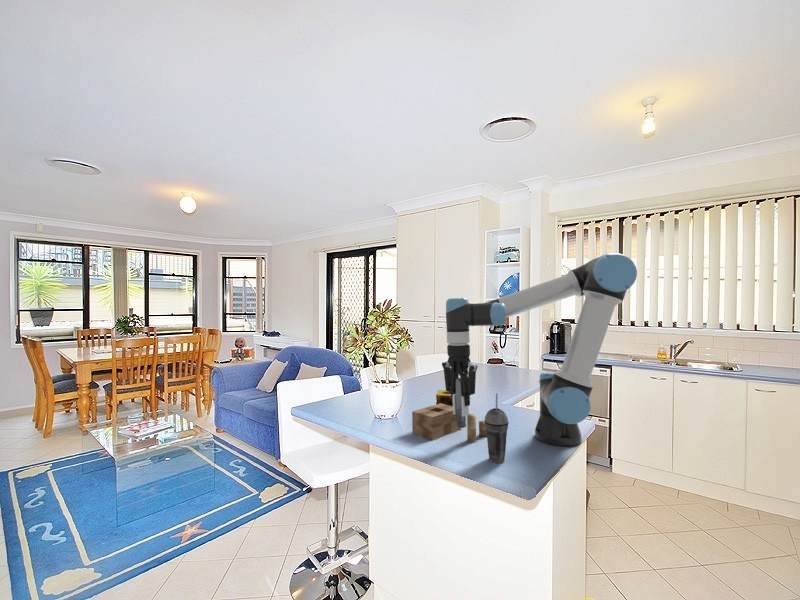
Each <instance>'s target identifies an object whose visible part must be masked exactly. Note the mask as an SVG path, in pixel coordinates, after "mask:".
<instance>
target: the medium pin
mask: <svg viewBox="0 0 800 600" xmlns="http://www.w3.org/2000/svg"><path fill="white" fill-rule="evenodd" d="M466 421H467V422H466V431H467V432H466V433H467V434H466V435H467V436H466V438H467V442H469V443H476V442H477V415H476V413H469V415H466Z"/></svg>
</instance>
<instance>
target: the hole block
mask: <svg viewBox="0 0 800 600" xmlns="http://www.w3.org/2000/svg"><path fill="white" fill-rule="evenodd" d="M411 413H412V414H411V415H412V417H411V419H412V425H411V426H412V432H411V433H412V434H414V435H416V436H420V437H423V438H426V439H429V440H431V441H434V440H438V439H439V438H442V437H445V436H447V435H450V434H452V433H456V432H458V431H460V430H462V428H458V427H457V417H456V414H453V406H450V405H445V404H441V403H440V404H437V405H436V404H434V405H429V406H427V407H423V408H419V409H416V410H413V411H412V412H411Z"/></svg>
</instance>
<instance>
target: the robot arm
mask: <svg viewBox="0 0 800 600" xmlns="http://www.w3.org/2000/svg"><path fill="white" fill-rule="evenodd" d="M637 275H638V270H637V267H636V264H635V263H634V261H633V260H632V258H630V257H629V256H627V255H625V254H622V253H617V252H613V253H612V252H611V253H606V254H602V255H601V256H598V257H597V258H593V259H591V260H590V261H588V262H586V263H584V264H582V265H580V266H578V267H576V268H573V269H570V270H568V272H567V273H566V274H565V275H561V276H559V277H557V278H553V279H551V280H548V281H547V280H546V281H545V282H542V283H538V284H535V285H533V286H530V287H527V288H525V289H521V290H518V291H516V292H515V291H514V292H513V293H510V294H507V295H504V296H501V297H497V298H496V299H493V300H489V301H487V302H483V303H481V302H480V303H469V302H470V301H469V299H468V298H467V297H457V298H455V297H453V298H452V297H451V298H448V299H447V300H446V301H445V320H446V321H445V325H446V343H447V345H446V348H447V349H446V353H447V356H448V359H447V361H443V362H441V365H442V369H443V375H444V384H445V385H444V386H445V390H446V391H448V392H450V393H451V402H452V403H453V414H456V390H455V378H461V383H462V390H463V395H462V396H461V402H462V416H466V417H467V415H469V414H470V413H469V411H470V410H469V406H471V395H474V394H476V378H477V376H476V375H477V369H478V368H479V367H478V364H473V363H472V362H471V359H470V355H471V345H470V344H469V343H470V327H475V326H476V327H477V326H478V327H480V326H481V327H486V326H487V327H488V326H494V327H498V326H504V325H505V324H506V321H507V319H506V318H510V317H513V316H515V315H518V314H522V313H525V312H528V311H530V310H534V309H536V308H540V307H542V306H545V305H549V304H552V303H554V302H555V303H556V302H557V301H561V300H564V299H567V298H570V297H573V296H577V297H579V298H580V297H582V296H584V297H585V299H584V302H583V305H582V307H581V309H580V314H579V316H578V318H577V322H576V325H575V328H574V331H573V334H572V337H571V339H570V342H569V346H568V349H567V351H566V354H565V357H564V360H563V363H562V366H561V369H559V370H556V371H555V372H541V373H540V375H539V380H538V383H539V416H538V420H537V423H536V426H535V429H534V437H535V438H536V440H537V441H539V442H542V443H545V444H548V445H553V446H559V447H571V446H573V447H575V446H577V445H580V444H581V443H582V441H583V440H582V432H581V429H580V427H579V423H581V422H583V421H584V420H586V418H588V417H589V414H590V412H591V400H590V397H591V393H592V390H593V388H594V385H593V382H592V381H591V377H592V374H593V372H594V368H595V365H596V362H597V361H598V356H599V354H600V351H601V349H602V345H603V343H604V339H605V336H606V334H607V330H608V327H609V325H610V322H611V319H612V316H613V314H614V311H615V307H616V306H617V305H619V304H622V303H623V302H624V298H625V296H626V293H627V290H629V289H630V288H631V287H632V286H633V285H634V283H635V282H636V281H637V277H638V276H637ZM459 376H460V377H459Z"/></svg>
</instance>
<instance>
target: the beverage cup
mask: <svg viewBox="0 0 800 600" xmlns="http://www.w3.org/2000/svg"><path fill="white" fill-rule="evenodd" d="M498 395H499V394H498V393H495V407H494V408H491V409H489V410H488V411H487V412H486V414H485V415H484V416H485V417H484V420H483V421H484V422H485V427H486V432H487V437H486V440H487V441H486V442H487V450H488V451H487V453H488V458H489V459H488V460H489V461H490V462H491V463H494V464H503V463H504V462H505V458H506V450H507V449H506V447H507V435H508V429H509V424H510V423H509V419H508V416H507V414H506V413H505V411H504V410H503V409H500V408H498V398H499V397H498Z"/></svg>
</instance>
